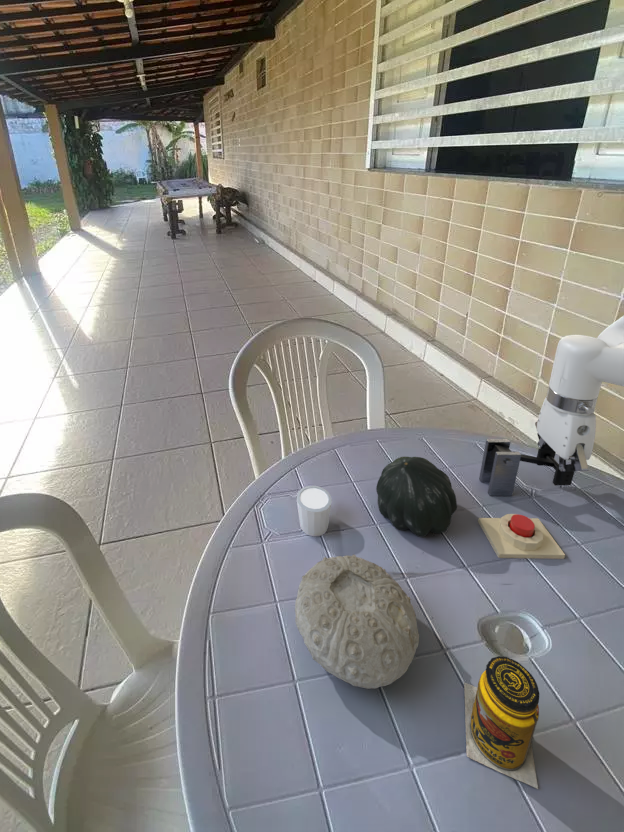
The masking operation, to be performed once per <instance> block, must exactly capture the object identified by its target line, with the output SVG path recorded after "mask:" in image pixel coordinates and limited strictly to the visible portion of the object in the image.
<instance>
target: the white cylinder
mask: <svg viewBox="0 0 624 832" xmlns="http://www.w3.org/2000/svg"><path fill="white" fill-rule="evenodd" d="M332 503H333V498H332V496H331V493H330V492H329V491H328V490H327V489H326V488H323V487H322V486H317V485H307V486H304V487H302V488H300V490H299V491H297V494H296V505H297V511H298V520H299V521H298V522H299V527H300V529H301V531H302V532H303V533H304V534H306V535H307V536H311V537H321V536H323V535H325V534H326V533H327V532H328V528H329V525H330V524H329V523H330V517H331V516H330V515H331V509H332Z"/></svg>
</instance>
